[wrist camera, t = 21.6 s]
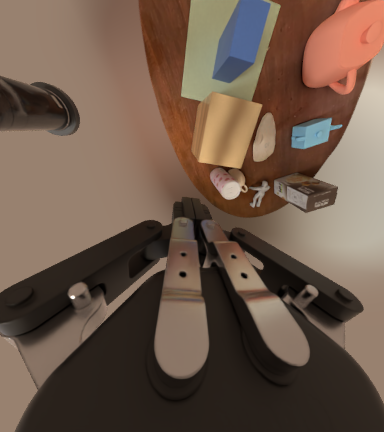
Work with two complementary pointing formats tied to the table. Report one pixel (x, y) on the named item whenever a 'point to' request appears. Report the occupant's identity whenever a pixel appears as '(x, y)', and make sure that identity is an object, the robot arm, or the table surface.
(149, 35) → the table surface
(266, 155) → the stone
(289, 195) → the coffee box
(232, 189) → the beverage can
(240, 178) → the cream cup
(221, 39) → the toy block
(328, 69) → the teapot
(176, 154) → the table surface
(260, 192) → the soldier figurine
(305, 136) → the teapot
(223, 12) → the mat
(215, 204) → the table surface
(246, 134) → the stand
